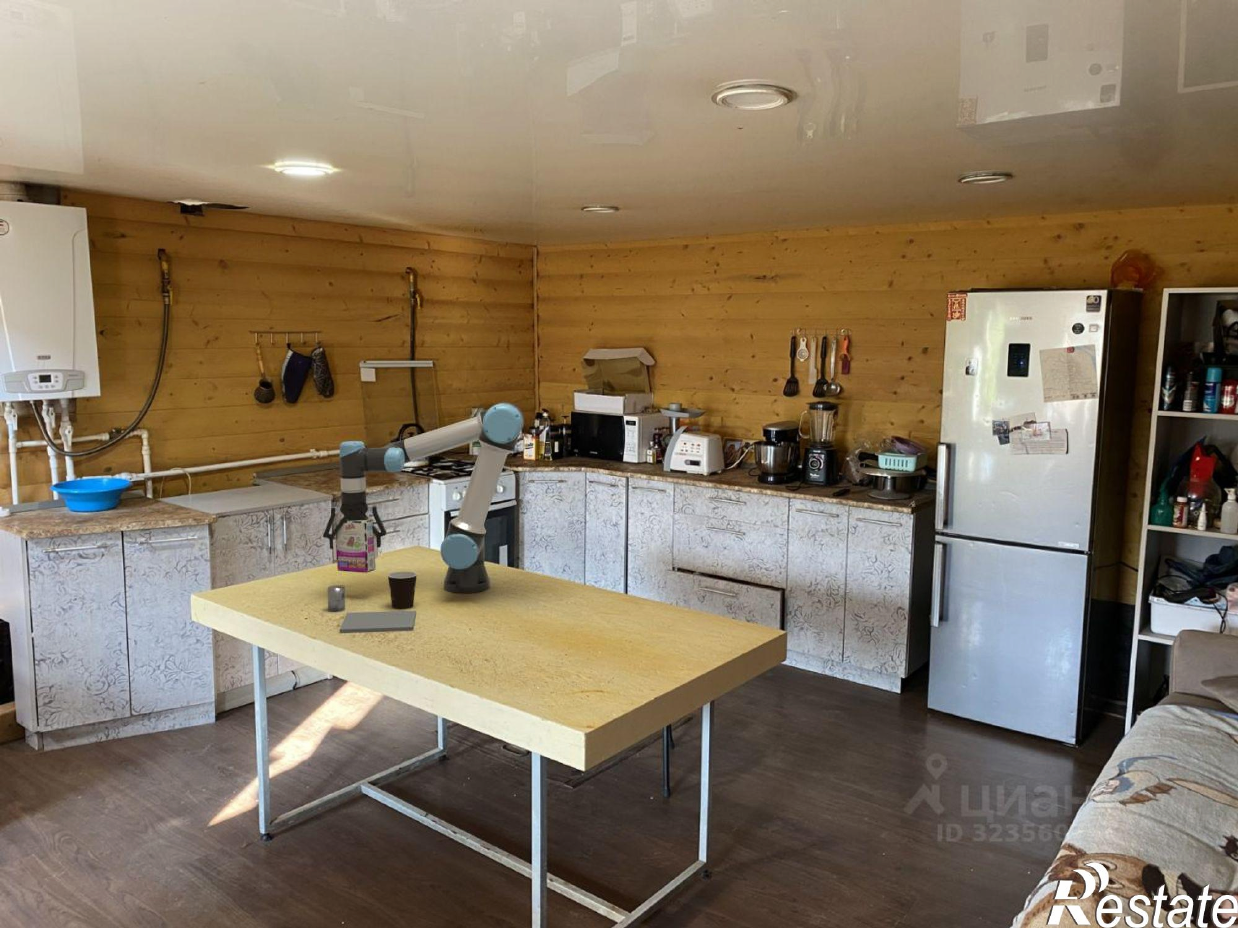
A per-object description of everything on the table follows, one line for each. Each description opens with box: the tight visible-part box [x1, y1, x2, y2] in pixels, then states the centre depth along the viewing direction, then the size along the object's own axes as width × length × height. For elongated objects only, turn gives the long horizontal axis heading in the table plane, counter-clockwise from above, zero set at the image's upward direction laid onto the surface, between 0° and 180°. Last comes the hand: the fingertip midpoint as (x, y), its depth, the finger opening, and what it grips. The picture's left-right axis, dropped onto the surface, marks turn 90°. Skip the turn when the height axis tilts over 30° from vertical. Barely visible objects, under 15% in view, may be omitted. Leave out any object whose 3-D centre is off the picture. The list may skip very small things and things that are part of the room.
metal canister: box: [327, 584, 346, 613], centre depth 271 cm, size 5×5×7 cm
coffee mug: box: [387, 570, 418, 610], centre depth 277 cm, size 12×9×10 cm
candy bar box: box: [335, 518, 376, 574], centre depth 283 cm, size 11×5×16 cm, turn 73°
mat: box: [339, 610, 417, 634], centre depth 259 cm, size 20×16×1 cm
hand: (356, 558), depth 284 cm, fingers closed on candy bar box, 12 cm apart
